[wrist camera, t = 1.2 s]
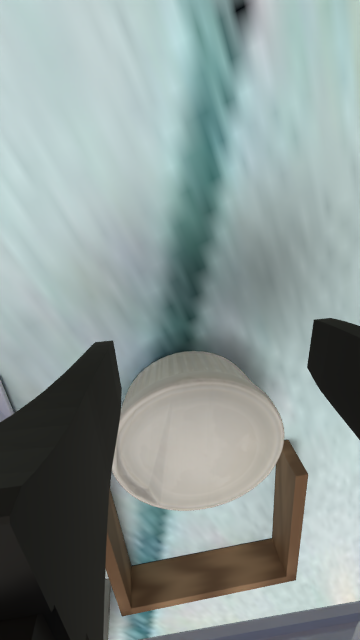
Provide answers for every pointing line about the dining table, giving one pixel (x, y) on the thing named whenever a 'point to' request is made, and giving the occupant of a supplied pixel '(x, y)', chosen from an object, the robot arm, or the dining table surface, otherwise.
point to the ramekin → (195, 433)
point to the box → (214, 555)
